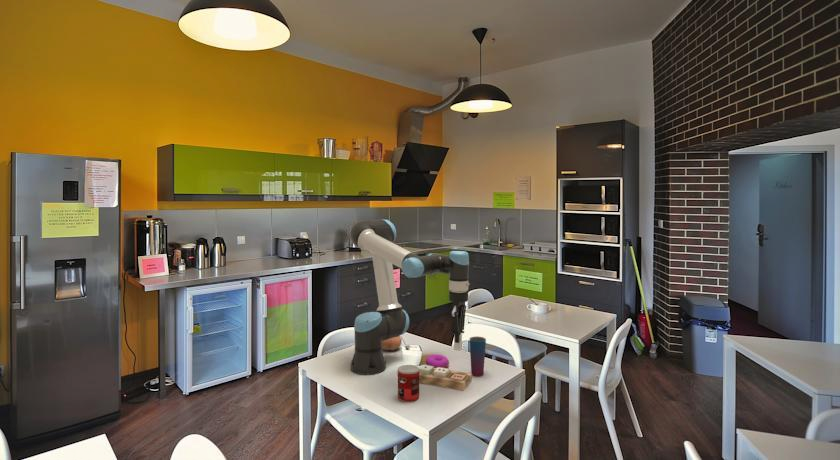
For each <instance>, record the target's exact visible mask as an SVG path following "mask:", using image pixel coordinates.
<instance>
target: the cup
mask: <svg viewBox="0 0 840 460" xmlns="http://www.w3.org/2000/svg"><path fill="white" fill-rule="evenodd" d="M486 343H487V339H486V338H485V337H483V336H477V335H476V336H470V337H469V353H470V355H469V356H470V370H471V371H470V372H471V373H470V374H472V377H473V376H474V377H482V376H484V373H485V371H484V370H485V358H486V346H487V345H486Z"/></svg>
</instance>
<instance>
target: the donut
mask: <svg viewBox="0 0 840 460" xmlns="http://www.w3.org/2000/svg"><path fill="white" fill-rule="evenodd" d="M425 365H428V366H434V368H438V367H441V368H447V367H448V366H449V365H450V360H449V359H448V358H447V357H446V356H445V355H442V354H437V353H435V354H430V355H428V356H427V357H426V359H425Z"/></svg>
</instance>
